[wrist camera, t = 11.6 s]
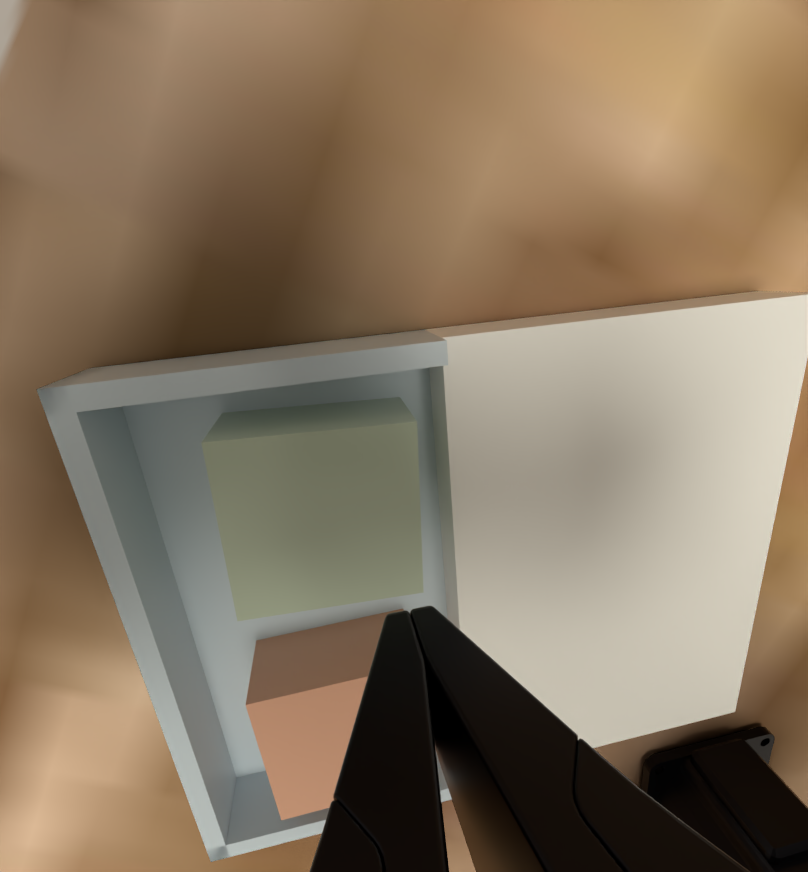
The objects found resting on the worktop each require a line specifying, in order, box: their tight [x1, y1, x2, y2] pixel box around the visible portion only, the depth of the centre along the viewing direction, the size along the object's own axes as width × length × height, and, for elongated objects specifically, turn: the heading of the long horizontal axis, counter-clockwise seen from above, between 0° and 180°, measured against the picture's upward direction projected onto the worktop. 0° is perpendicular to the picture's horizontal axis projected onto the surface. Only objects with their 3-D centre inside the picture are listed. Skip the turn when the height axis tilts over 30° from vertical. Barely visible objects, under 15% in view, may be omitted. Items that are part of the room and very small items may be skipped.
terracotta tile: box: [246, 609, 404, 820], centre depth 15 cm, size 5×5×2 cm
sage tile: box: [201, 397, 424, 621], centre depth 13 cm, size 5×5×2 cm
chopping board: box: [424, 291, 808, 748], centre depth 16 cm, size 16×11×2 cm
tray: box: [37, 330, 452, 862], centre depth 14 cm, size 16×9×2 cm, turn 5°
